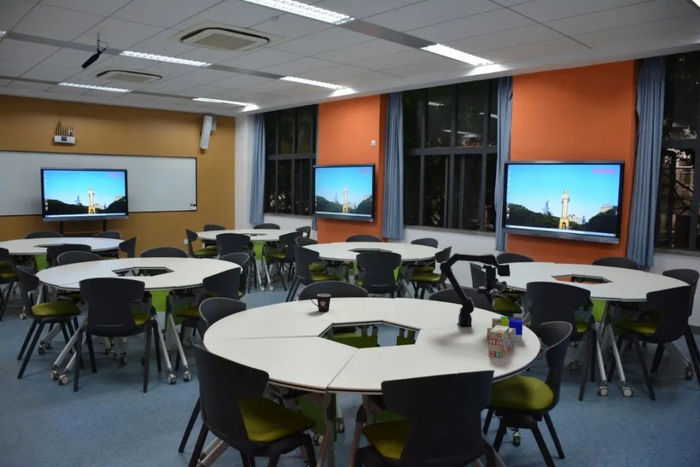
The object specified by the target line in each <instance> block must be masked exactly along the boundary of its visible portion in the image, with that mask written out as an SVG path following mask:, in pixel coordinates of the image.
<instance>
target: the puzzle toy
mask: <svg viewBox="0 0 700 467" xmlns="http://www.w3.org/2000/svg"><path fill="white" fill-rule="evenodd" d="M500 318H501V326H507V327H509V328H512V329H513V342H523V330H524V329H523V325H524V323H523V322H524V321H523V319H522V318H521V317H517V316H516V317H515V316H504V315H503V316H500Z"/></svg>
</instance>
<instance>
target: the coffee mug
mask: <svg viewBox="0 0 700 467" xmlns="http://www.w3.org/2000/svg"><path fill="white" fill-rule="evenodd" d="M331 297H332V295H331V294H329V293H318V294H316V296H312V297H310V298H311V299H310V301H311V302H312V304H313V305H315V306H316V307H317V308H318V312H319V313H328V312H329V311H330V305H331ZM313 299H316V301H317V304H316V303H315V302H314V301H313Z"/></svg>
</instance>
